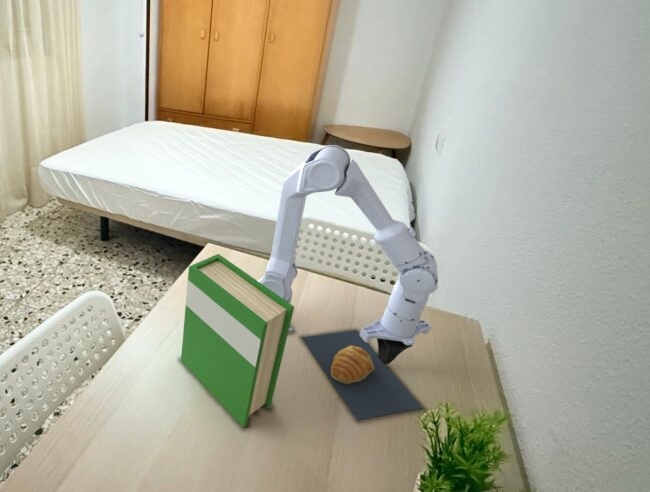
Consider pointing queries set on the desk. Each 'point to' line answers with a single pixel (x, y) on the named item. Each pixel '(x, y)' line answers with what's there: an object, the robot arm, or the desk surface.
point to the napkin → (371, 392)
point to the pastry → (351, 365)
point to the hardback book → (234, 335)
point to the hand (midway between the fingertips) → (383, 360)
